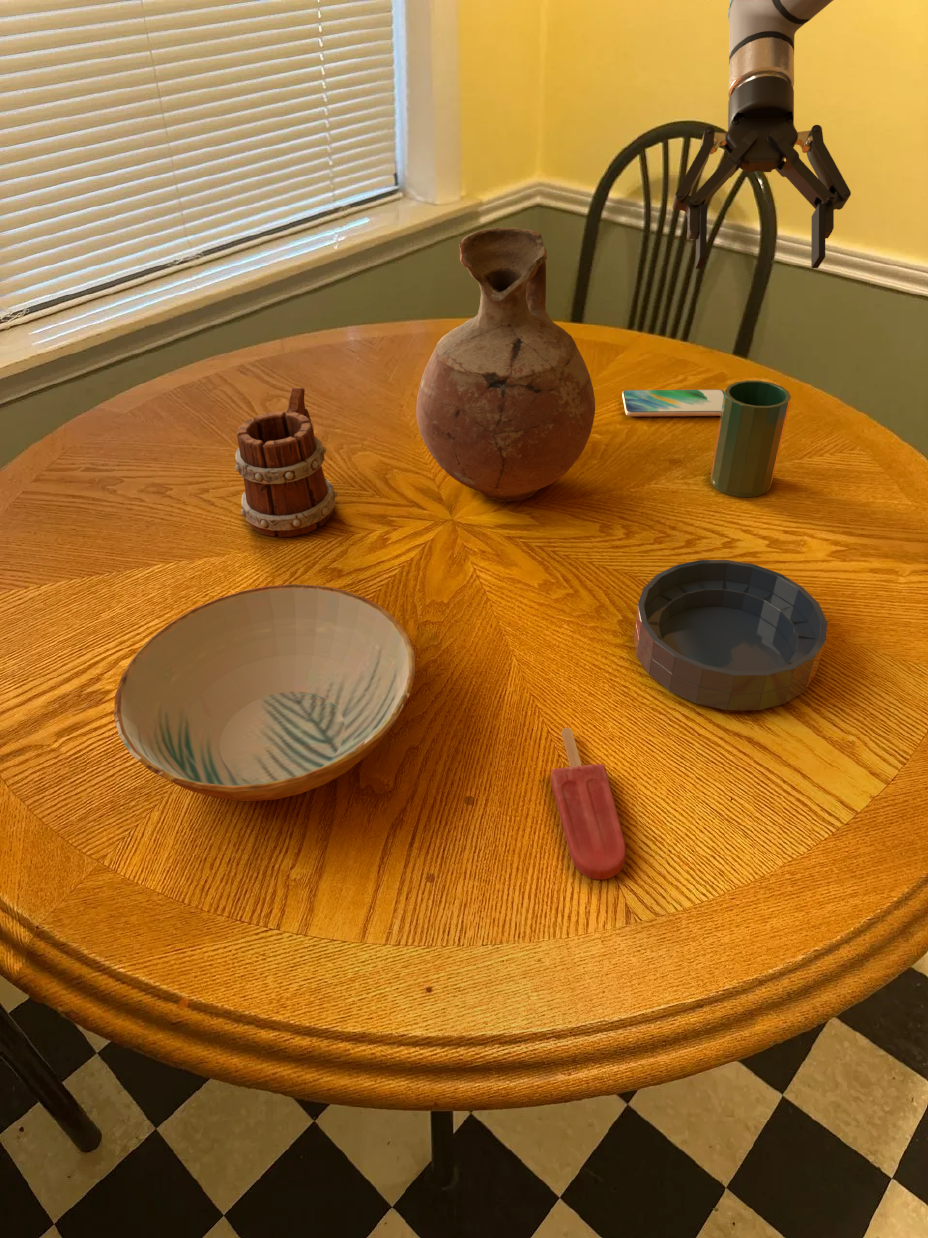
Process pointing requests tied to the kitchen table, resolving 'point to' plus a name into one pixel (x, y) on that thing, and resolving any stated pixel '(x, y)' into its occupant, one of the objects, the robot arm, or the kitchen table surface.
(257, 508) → the mug
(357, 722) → the bowl
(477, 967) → the kitchen table surface
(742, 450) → the green cup
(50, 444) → the kitchen table surface
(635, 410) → the smartphone
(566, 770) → the popsicle
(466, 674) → the kitchen table surface
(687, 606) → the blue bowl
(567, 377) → the jug
